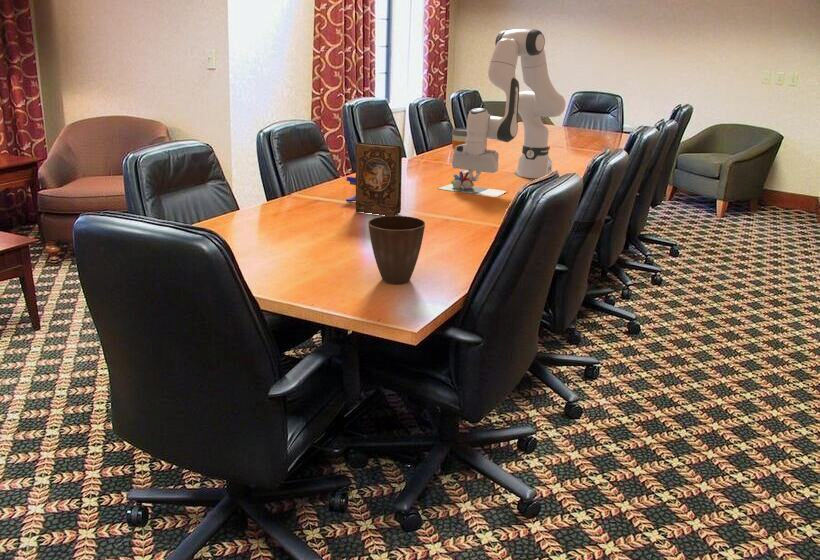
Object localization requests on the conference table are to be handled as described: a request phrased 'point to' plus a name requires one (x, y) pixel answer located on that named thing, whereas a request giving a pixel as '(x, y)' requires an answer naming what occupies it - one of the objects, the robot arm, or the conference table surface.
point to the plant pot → (396, 246)
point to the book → (378, 178)
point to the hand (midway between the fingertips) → (474, 180)
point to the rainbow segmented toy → (462, 181)
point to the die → (464, 173)
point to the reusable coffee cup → (459, 137)
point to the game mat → (475, 191)
